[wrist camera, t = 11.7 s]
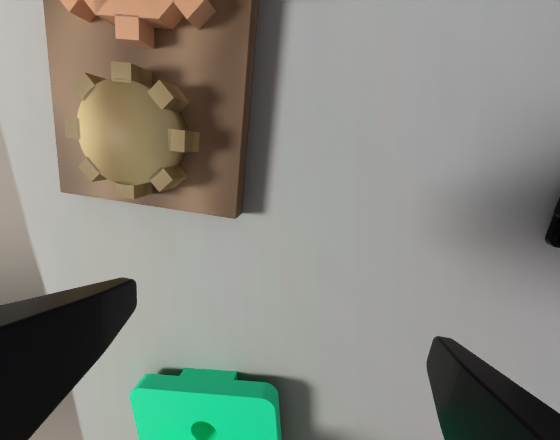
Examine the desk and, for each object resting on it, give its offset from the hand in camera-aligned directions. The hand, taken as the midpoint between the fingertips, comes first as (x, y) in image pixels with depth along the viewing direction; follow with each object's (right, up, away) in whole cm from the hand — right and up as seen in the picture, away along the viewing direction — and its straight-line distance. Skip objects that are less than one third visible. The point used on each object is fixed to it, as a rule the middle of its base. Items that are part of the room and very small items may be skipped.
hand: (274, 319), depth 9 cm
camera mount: (-6, -13, +17) cm, 23 cm away
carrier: (-8, +14, +10) cm, 19 cm away
